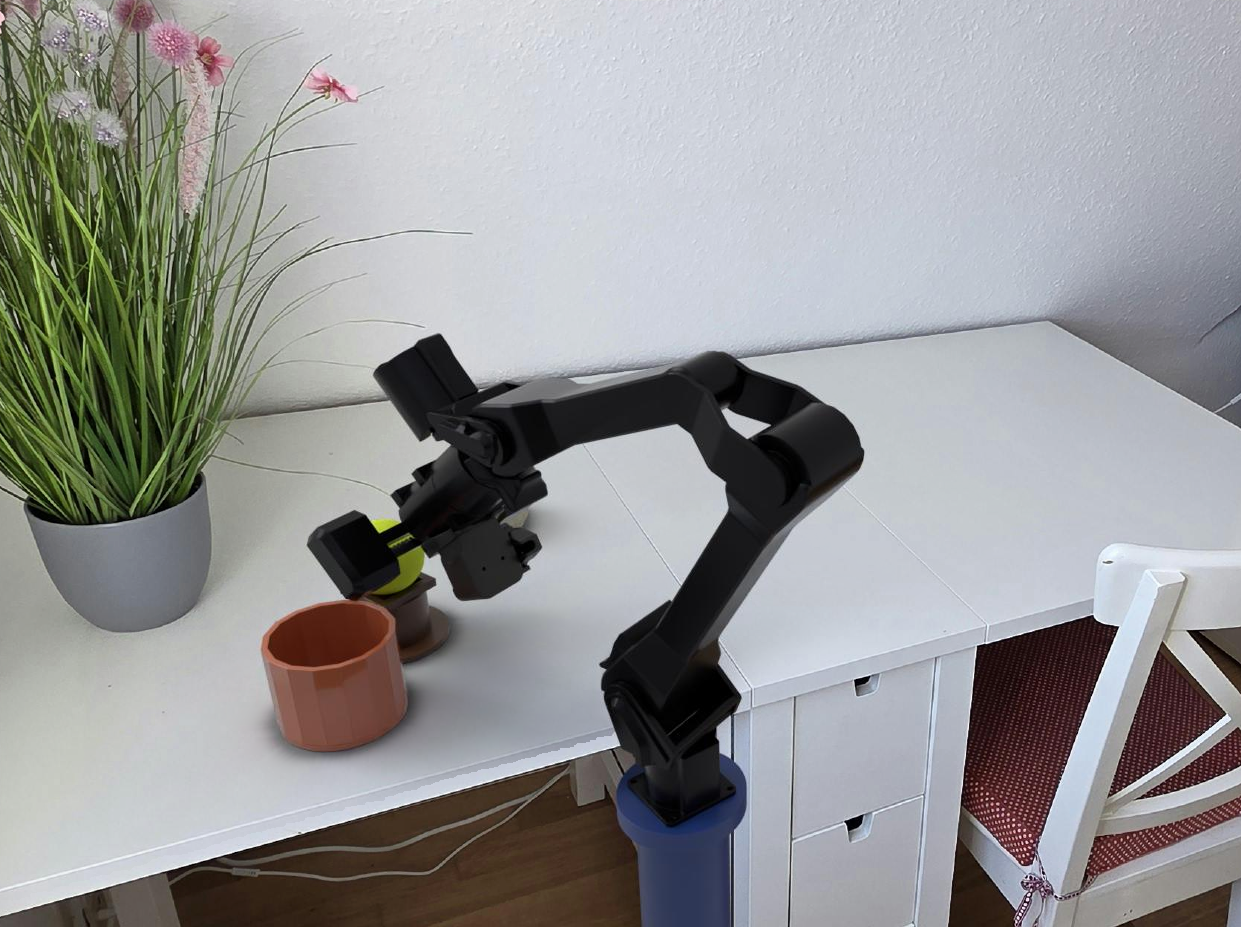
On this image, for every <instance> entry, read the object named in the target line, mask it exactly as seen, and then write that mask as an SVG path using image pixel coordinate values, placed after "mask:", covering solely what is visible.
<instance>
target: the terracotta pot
mask: <svg viewBox="0 0 1241 927" xmlns="http://www.w3.org/2000/svg"><path fill="white" fill-rule="evenodd" d="M260 654H261V658H262V659H261V660H262V663H263V668H264V671H265V676H266V680H267V684H268V688H269V693H270V698H271V702H272V706H273V710H274V715H275V720H276V724H277V726H278V727H279V730H280V733H281V735H282V737H283V738H284V739H285V741H287V742H288V743H289V744H291V745H293V746H295V747H296V748H299V749H303V750H307V751H311V752H338V751H344V750H345V751H346V750H350V749H354V748H357V747H360V746H363V745H366V744H369V743H371V742H373V741H375V740H377V739H380V738H381V737H383V736H385V735H386V734H388V733H389V732H390V731H392V730H393V729H394V728H396V727H397V725H398V724H399V723H400V722H401V721H402V719H403V718H404V717H405V715H406V713H407V710H408V707H409V699H408V687H407V681H406V676H405V670H404V669H405V668H404V663H402V657H401V651H400V645H399V639H398V633H397V626H396V620H395V618H394V617H393V616H392V615H391V613H390V612H389V611H388V610H387V609H386V608H384V607H382V606H379V605H376V604H373V603H371V602H368V601H352V600H348V599H340V600H331V601H324V602H318V603H315V604H312V605H309V606H306V607H303V608H299V609H296V610H294V611H293V612H291V613H289V614H287V615H285V616H284V617H282V618H280V619H279V620H277V621H275V622H274V623H273V624H272V625H271V627H270V628H268V630H267V631H266V632H265V633H264V634H263V635H262V639H261V645H260Z"/></svg>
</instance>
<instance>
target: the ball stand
mask: <svg viewBox="0 0 1241 927" xmlns="http://www.w3.org/2000/svg"><path fill="white" fill-rule="evenodd" d="M435 587H437V578H436V577H434V576H432V575H429V574H427V573H425V572H423V571H421V573H420V574H419V576H418V577H417V579H416V580H415V581H414V582H413V583H412V584H411V585H409V586H408V587H407V588H405V589H403V590H401V591H399V592H396V593H393V594H387V595H377V594H369V595H367V596H365V597H363V598H361V599H360V600H358V601H368V602H371V603H373V604H376V605H379V606H382V607H384V608H386V609H387V610H388V611H389V612H390V613H391V615H392V616H393V617H394V618H395V620H396V626H397V633H398V639H399V645H400V651H401V657H402V663H403V664H406V663H407V664H408V663H411V662H414V661H416V660H420V659H422V658H425V657H426V656H428V655H430V654H432V653H433V652H435V651H436V650H438V649H439V648H441V646H442V645H444V644H445V642H446V641H447V639H448V637H449V635H450V632H451V631H450V630H451V625H450V621H449V618H448V616H447V614H445V613H444V612H443V611H442V610H441V609H439V608H437V607H435V606H432V605H429V598H428V592H427V591H429V590H431V589H433V588H435ZM339 593H340V594H341V592H340V591H339Z"/></svg>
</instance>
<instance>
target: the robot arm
mask: <svg viewBox="0 0 1241 927" xmlns="http://www.w3.org/2000/svg"><path fill="white" fill-rule="evenodd" d="M372 377H373V378H374V380H375V381H376V383H377V384H378V386H379V387H380V389H381V390H382V391H383V393H384V394H385V395H386V397H387V399H389V401H390V403H391V404H392V405H393V407H394V408H395V409H396V411H397V413H399V415H400V416H401V418H402V420H403V421H404V423H405V424H406V425H407V426H408V428H409V429H410V431H411V432H412V434H413V435H414V436H415V438H416V439H417V441H418V442H419V443H421V442H424V441H425V440H427V439H428V438H430V437H432V438H433V439H434V441H435V442H442V441H444V442H446V443H447V444H449V446H448V447H447V448H446V449H445V450H444V451H443V452H442V453H441V454H440V455H439V456H438V457H437V458H436V459H433V460H432V461H430V462H427V463H425V464H423V465H421V466H419V467H416V468H415V469H414V470H413V471H412V472H411V473H410V475H411V476H412V478H413V479H414V481H412V482H410V483H408V484H406V485H405V484H404V485H403V486H401V487H399V488H397V489H395V490H394V491H393V492H392V493H390V495H389V496H390V498H391V499H392V500H393V501H394V503H395V504H396V506H397V507H398V517H399V520H400V522H401V523H399V524H397V525H395V526H393V527H391V528H389V529H387V530H385V531H383V532H381V533H379V532H378V531H377V530H376V528H375V527H374V525H373V524H372V523H371V521H372V520H370V519H369V517H368V516H367V514H366V513H363V512H361V511H359V510H356V509H353V510H351V511H349V512H347V513H345V514H342V515H341V516H338V517H336V518H334V519H332V520H330V521H328V522H325V523H323V524H320V525H318V526H317V527H315V529H314V530H313V531H312V532H311V533H310V535H308V538H307V542H306V547H307V548H308V550H309V551H310V553H311V554H312V555H313V557H314V558H315V559H316V560H317V562H318V563H319V565H320V566H321V568H322V569H323V570H324V571H325V573H326V574H327V576H328V577H329V578H330V580H331V581H332V583H333V585H334V586H335V587H336V588H337V589H338V591H339V593H340V592H341V593H340V595H342V597H343V598H344V600H352V601H358V600H360V599H361V598H363V597H365V596H367V595H369V594H371V593H373V592H374V591H376V590H378V589H380V588H382V587H384V586H385V585H387V584H389V583H391V582H392V581H393V580H394V579H396V578H397V577H398V576H399V575H400V574H401V572H400V566H399V560H398V559H397V558H399V557H400V556H402V555H404V554H406V553H408V552H410V551H412V550H414V549H416V548H418V547H420V546H421V548H422V549H423V551H424V554H425V555H426V556H427V558H428V559H429V560H430V559H433V558H434V557H437V556H438V555H439V557H440V562H441V565H442V567H443V570H444V573H445V574H446V576H447V579H448V581H449V583H450V584H451V587H452V593H453V595H454V597H455V598H456V599H457V600H459V601H461V602H469V601H470V602H471V601H480V600H482V601H483V600H489V599H492V598H494V597H496V596H497V595H499V594H501V593H502V592H504V591H506V590H507V589H509V588H510V587H512V586H514V585H516V584H517V583H519V582H520V581H521V580H522V578H523V576H524V574H525V573H527V572H529V571H530V570H531V566H530V564H529V562H530V561H531V560H533V559H535V558H536V557H537V555H538V554H539V553H540V552H541V551H542V549H543V545H542V543H541V540H540V539H539V536H538V534H537V533H535V532H533V531H531V530H528V529H526V528H524V527H523V526H522V527H517V528H513V527H512V526H510V525H509V524H508V523H503V522H505V521H507V520H509V519H511V518H512V517H514V516H516V515H518V514H520V513H522V512H524V511H525V510H526V509H527V508H529V509H530V507H531V506H532V505H533V504H535V503H537V502H538V501H541V500H543V499H544V498H546V497H548V495H549V490H548V486H547V483H546V482H545V480H544V479H543V477H542V472H541V470H539V469H537V468H536V467H535V466H536V465H538V464H541V463H543V462H545V461H546V460H548V459H550V458H552V457H554V456H557V455H559V454H560V453H561V454H562V453H563V452H564V451H567V450H569V449H570V448H572V447H575V446H578V445H583V444H588V443H593V442H597V441H602V440H607V439H613V438H617V437H622V436H626V435H632V434H637V433H642V432H647V431H651V430H656V429H661V428H666V427H671V426H675V425H676V426H679V427H680V428H681V429H683V430H684V431H685V432H686V433H688V434H689V435H690V436H691V437H692V439H693V441H694V444H695V445H696V447H697V449H698V452H699V454H700V456H701V457H702V459H703V461H704V464H705V465H706V467H707V469H708V470H709V471H710V472H711V473H712V474H714V475H715V476H717V478H719V479H720V480H722V481H723V482H724V483H725V484H724V493H725V498H726V503H727V507H728V508H727V510H726V513H725V515H724V517H723V518H722V520H721V521H720V523H719V524H718V526H717V528H716V529H715V531H714V533H713V534H712V536H711V537H710V539H709V541H708V542H707V544H705V545H706V546H705V547H704V548H703V550H702V551H701V554H700V555H699V556H698V558H697V560H696V562H695V563H694V565H693V566H692V568H691V570H690V571H689V573H688V574H687V576H686V578H685V579H684V581H683V582H682V584H681V586H680V587H679V589H678V590H677V592H676V594H675V596H674V597H673V599H672V600H671V599H668V600H666V601H665V602H664V603H662V604H661V605H660V606H658V607H656V608H655V609H653V610H652V611H650V613H648V614H646V615H645V616H644V617H642V618H641V619H639V620H637V621H636V622H635V623H634V624H632V625H631V626H629V627H628V628H626V629H625V630H623V631H622V632H620V633H619V634H618V635H617V637H616V639H615V640H614V642H613V645H612V647H611V651H610V653H609V656H608V657H606V658H605V659H604V660H602V661H600V662H599V664H598V665H599V667H600V668H601V669H604V671H603V672H602V675H601V679H600V690H601V691H602V692H603V701H604V705H605V708H606V710H607V713H608V716H609V718H610V722H611V725H612V727H613V730H614V732H615V735H616V738H617V740H618V743H619V746H620V748H621V749H622V751H625V752H627V753H628V754H631V755H632V757H633V758H634V764H637V765H639V766H641V767H644V772H642V773H640V774H638V775H636V776H634V777H632V778H630V779H629V780H628V782H627V784H628V788H629V789H630V790H631V791H632V792H633V793H634V794H635V795H636V796H637V797H638V798H639V799H640V800H641V801H642V802H643V803H644V804H645V805H646V806H647V807H648V808H649V809H650V810H651V812H652V813H653V814H654V815H655V816H656V817H657V818H658V819H659V820H660V821H661V822H662V823H663V824H664V825H665V826H666V827H669V828H673V827H675V826H677V825H679V824H681V823H683V822H685V821H687V820H689V819H691V818H692V817H694V816H696V815H698V814H700V813H702V812H704V811H706V810H708V809H710V808H711V807H713V806H715V805H717V804H719V803H721V802H723V801H725V800H727V799H728V798H730V797H732V796H734V795H735V794H736V787H735V785H734V784H732V783H731V782H730V781H729V780H728V779H727V778H726V777H725V776H724V775H723V774H722V773H721V772H720V753H721V752H720V740H719V739H718V726H720V725H721V724H722V723H723V722H725V721H726V720H727V719H728V718H729V717H731V716H734V714H735V713H737V711H738V708H739V706H740V704H741V702H742V698H743V696H742V694H741V693H740V691H739V690H738V689H737V687H736V686H735V684H734V683H733V682H732V681H731V680H732V679H730V677H729V676H728V675H727V674H726V672H725V671H724V668H722V667H721V665H720V663H719V661H720V659H721V656H722V648H721V645H720V642H719V639H720V636H721V635H722V634H723V631H724V630H725V629H726V627H727V626H728V625H729V623H730V621H731V620H732V619H733V618H734V616H735V614H736V613H737V612H738V611H739V608H741V606H742V604H743V603H744V601H745V600H746V598H747V597H748V595H749V594H750V593H751V591H752V590H753V588H754V587H755V585H756V584H757V582H758V581H759V579H760V578H761V576H762V575H763V574H764V573H765V570H766V569H767V567H768V566H769V565H770V563H771V562H772V560H773V559H774V557H775V556H776V555H777V553H778V551H779V550H780V549H781V547H782V546H783V544H784V543H785V541H786V540H787V538H788V537H789V535H790V534H791V532H792V531H793V529H794V528H795V527H796V526H797V525H798V524H800V523H801V522H802V521H803V520H804V519H806V518H807V517H808V516H809V515H810V514H812V513H813V512H814V511H815V510H817V509H818V508H819V507H820V506H821V505H822V504H825V502H826V501H828V500H829V499H830V498H831V497H832V496H833V495H834V494H836V493H837V492H838V491H839V490H840V489H841V488H842V487H843V486H844V485H845V484H846V483H847V482H849V481H850V480H851V479H852V478H854V477H855V475H856V474H857V473H858V472H859V471H860V470H861V467H862V466H863V463H864V459H865V449H864V448H863V446H862V442H861V437H860V435H859V433H858V431H857V430H856V428H855V425H854V424H853V423H852V421H851V420H850V419H849V418H848V416H846V414H845V413H843V412H842V411H840V410H839V409H838V408H837V407H835V406H833V405H830V404H827V403H825V402H824V401H822V400H821V399H819V398H818V397H817V396H816V395H814V394H813V393H811V391H810V392H809V391H808V390H807V389H805V388H804V387H803V386H801V385H798V384H797V383H794V382H791V381H787V380H785V379H781V378H778V377H775V376H773V375H769V374H767V373H763V372H760V371H758V370H754V369H751V368H750V367H749V366H747V365H745V363H743V362H741V361H740V360H738V358H736V357H735V356H733V355H732V354H729V353H728V352H725V351H724V350H723V351H722V350H721V351H718V350H706V351H704V352H701V353H699V354H697V355H695V356H692V357H690V358H688V359H684V360H680V361H676V362H673V363H668V364H665V365H660V366H656V367H651V368H648V369H644V370H640V371H635V372H632V373H627V374H623V375H619V376H615V377H611V378H607V379H603V380H599V381H593V382H590V383H577V382H576V381H574V380H573V379H570V378H538V379H535V380H533V381H530V382H528V383H526V382H520V381H514V380H509V379H506V380H504V381H502V382H501V381H500V382H499V383H497V384H494V385H492V386H490V387H489V386H488V387H487V388H485V389H482V390H479V388H478V387H477V386H476V383H474V381H473V380H472V379H471V377H470V375H469V374H468V373H467V371H466V370H465V369H464V367H463V366H462V364H461V363H460V361H459V360H458V358H457V357H456V355H455V354H454V352H453V350H452V348H451V346H450V345H449V343H448V342H447V339H445V338H444V336H443V334H442V333H440V332H438V333H434V334H431V335H428V336H426V337H423V338H420V339H418V340H417V342H415V343H414V345H412V346H411V347H409V348H406V349H405V350H404V351H402V352H400V353H398V354H397V355H395V356H394V357H392V358H390V359H389V360H388V361H385V362H383V363H381V364H379V365H378V366H377V367H376V368H375V370H373V372H372ZM726 409H727V410H728V411H730V412H732V413H734V414H736V415H739V416H741V417H744V418H747V419H750V420H754V421H757V422H760V423H763V424H766V425H769V426H766V427H765V428H764V429H762V430H760V431H759V432H757V433H755V434H753V435H751V436H750V437H748V438H746V437H745V436H744V435H743V434H741V433H740V432H738V431H737V430H735V429H734V428H733V427H732V426H731V425H730V423H729V421H728V420H727V418H726V416H725V414H724V413H723V410H726ZM501 523H503V524H501ZM500 524H501V525H500ZM409 535H412V537H413V538H412V537H409V538H408V539H409V540H408V539H405V540H404V541H405V542H404V541H401V542H400V543H401V544H400V543H397V544H396V545H393V546H392V547H389V546H390V545H391V544H393V543H395V542H397V541H399V540H401V539H403V538H405V537H407V536H409ZM633 783H635V784H633ZM729 790H732V791H729ZM669 821H672V822H669Z"/></svg>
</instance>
